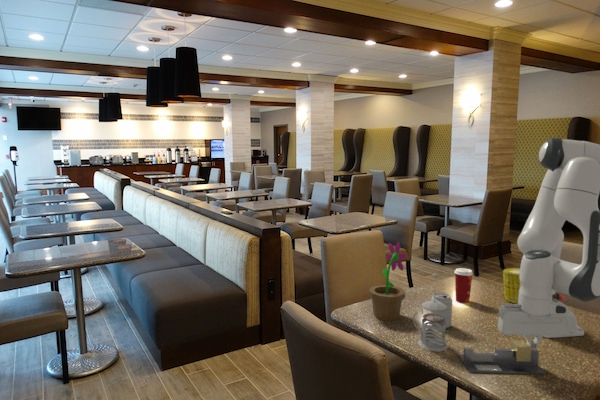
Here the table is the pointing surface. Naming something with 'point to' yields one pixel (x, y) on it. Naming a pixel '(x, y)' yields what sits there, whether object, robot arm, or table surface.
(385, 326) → the table surface
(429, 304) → the french press
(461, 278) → the paper cup
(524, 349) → the clip
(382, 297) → the flowerpot
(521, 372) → the rail
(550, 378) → the table surface
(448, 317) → the can
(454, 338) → the table surface
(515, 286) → the food
